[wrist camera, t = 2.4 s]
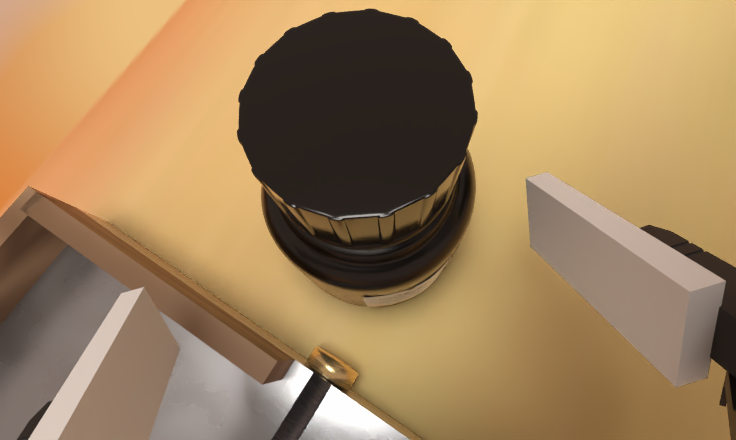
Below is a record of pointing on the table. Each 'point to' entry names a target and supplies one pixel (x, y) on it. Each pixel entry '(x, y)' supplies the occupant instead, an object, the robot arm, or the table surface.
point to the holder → (121, 278)
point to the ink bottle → (362, 152)
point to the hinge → (175, 368)
